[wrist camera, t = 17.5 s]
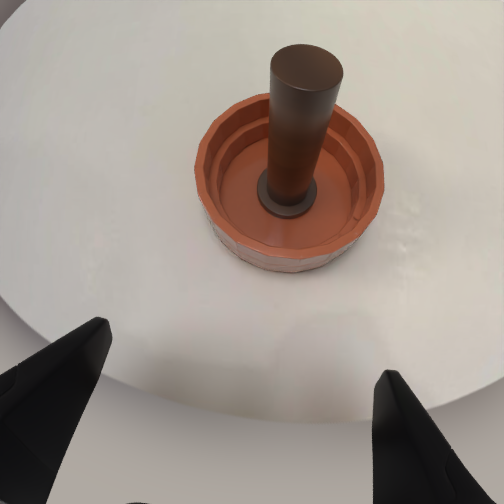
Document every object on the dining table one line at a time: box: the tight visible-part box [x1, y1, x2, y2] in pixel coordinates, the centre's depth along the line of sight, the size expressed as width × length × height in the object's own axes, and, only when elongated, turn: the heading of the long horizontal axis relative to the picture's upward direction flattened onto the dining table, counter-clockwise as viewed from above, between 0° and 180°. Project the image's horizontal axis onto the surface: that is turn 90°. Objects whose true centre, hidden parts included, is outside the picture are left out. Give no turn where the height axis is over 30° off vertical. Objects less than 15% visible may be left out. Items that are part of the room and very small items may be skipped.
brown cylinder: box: [257, 44, 343, 219], centre depth 18 cm, size 4×4×13 cm
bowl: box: [194, 93, 384, 273], centre depth 22 cm, size 12×12×5 cm
